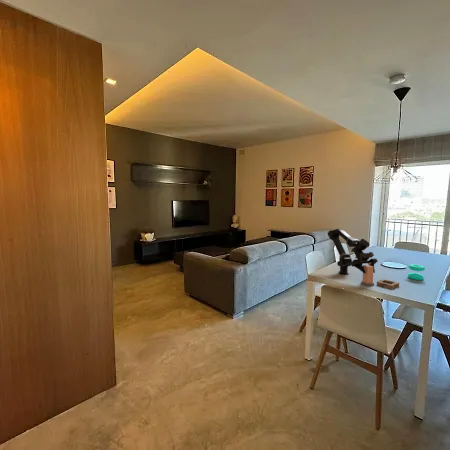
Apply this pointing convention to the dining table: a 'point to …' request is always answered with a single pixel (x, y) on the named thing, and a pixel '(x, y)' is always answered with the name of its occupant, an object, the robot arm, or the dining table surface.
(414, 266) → the donuts
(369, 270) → the peg
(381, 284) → the socket plate
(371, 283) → the pad
